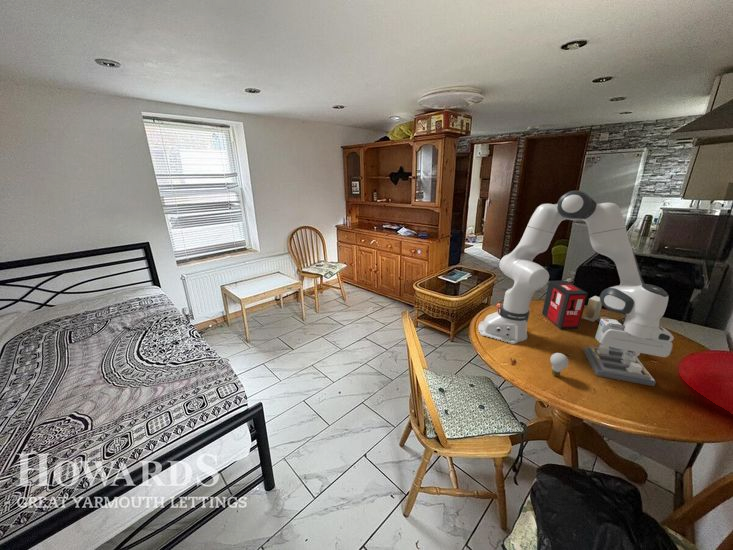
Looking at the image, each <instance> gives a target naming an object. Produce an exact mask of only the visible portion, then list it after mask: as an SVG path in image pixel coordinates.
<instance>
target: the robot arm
mask: <svg viewBox="0 0 733 550" xmlns="http://www.w3.org/2000/svg"><path fill="white" fill-rule="evenodd" d="M580 220H582V221H583V222H585V224H586V226H587V231H588V237H589V242H590V245H591V247H592V249H593V250H594V251H595V252H596V253H598V254H600V255H602V256H605V257H607V258H609V259H611V261H613V262H614V264H615V266H616V269H617V273H618V276H619V281H620V284H619V285H614V286H610V287H608V288H605V289H603V290H602V291H601V293H600V295H599V297H600V301H601V304H602V307H603V308H605V309H606V310H608V311H611V312H613V313H617V314H622V315H626V317H625V319H624V322H623V324H622V325H617V324H612V323H609V324H606V325H604V326H603V328H602V332H601V334H600V336H599V339H598V340H599V341H598V340H597V341H598V343H599V344H600V343H601V344H600V345H602V346H607V347H612V348H618V349H621V351H622V353H623V354H622V359H624V360H629V361H633V360H634V358H635V357H637V358H638V356H641V355H640V354H645V355H650V356H655V357H661V358H667V357H669V356H670V354H671V352H672V350H673V342H672V341H674V339H675V337H674V336H673V334H672V333H671V332H670V331H669V330H668V329H666V328H665V327H664V326H660V320H661V319H662V317H663V316H664V314H665V312H666V310H667V306H668V302H669V294H668V292H667V291H666V290H664V289H663V288H662V287H659V286H657V285H653V284H650V283H649V284H648V283H645V281H644V279H643V276H642V274H641V270H640V268H639V264H638V259H637V258H636V254H635V251H634V249H633V246H632V245H631V243H630V239H629V236H628V230H627V227H626V226H627V225H626V222H625V219H624V216H623V213H622V210H621V209H620V207H619V205H618V204H616V203H615V202H601V203H597V202H596V201H595V200H594V199H593V198H592V197H591V196H590V195H589V194H588V193H586V192H584V191H581V190H570V191H568V192H565V193H564V194H563V195H561V196H560V197H559V199H558V200H557V203H554V204H552V203H541V204H540V205H539V206H537V207H536V208H535V210H534V212H533V213H532V215H531V216H530V219H529V221H528V223H527V226H526V228H525V230H524V232H523V235H522V237H521V238H520V241H519V242H518V244H517V245H516V247H515V248H513V250H512V251H511V252H509V253H508V254H505V255H504V256H503V257H502V258H501V259H500V261H499V265H498V266H499V269H500V270H501V272H502V273H503V274H504V275H505V276H506V277H508V278H510V279H512V280H513V282H514V283H513V286H512V287H511V288H508V289H507V290H506V291H505V293H504V298H503V304H501V303H500V302H499V303H497V304H496V307H497V311H495V312H493V313H490V314H487V315H486V316H485V318H484V320H481V321H480V322H479V323H478V327H477V330H479V331H478V333H479V332H480V333H479V335H480V336H482V337H484V336H486V337H485V338H488V337H490V338H489V339H492V338H494V339H493V340H496V339H497V341H500V340H501V342H503V341H504V343H507V342H508V343H507V344H511V345H515V344H517V343H519V342H523V341H526V340H527V339H528V333H527V325H528V324H527V323H528V321H529V318H530V305H531V301H532V297H533V295H534V294H535V293H536V291H538V290H540V289H542V288H544V287H545V286H547V285H548V283H549V281H550V280H549V279H550V274H549V271H548V270H547V269H545V268H544V266H542V265H540V264H538V263H536V262H534V259H535V258H536V256H538V255H539V254H542V253H544V252H546V251H547V250H548V248H549V246H550V244H551V241H552V240H553V237H554V236H555V233H556V231H557V229H558V227H559V225H560V224H561V222H562V221H580ZM608 325H609V326H608ZM629 351H630V352H632V354H630V355H629V354H626V353H625V352H629Z"/></svg>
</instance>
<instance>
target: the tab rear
mask: <svg viewBox="0 0 733 550" xmlns="http://www.w3.org/2000/svg"><path fill="white" fill-rule="evenodd" d="M598 347H599V348H598V350H596V353H600V354H606V355H609V350H610V349H609V347H607V346H602V345H601V344H599V346H598Z"/></svg>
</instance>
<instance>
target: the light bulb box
mask: <svg viewBox="0 0 733 550" xmlns="http://www.w3.org/2000/svg"><path fill="white" fill-rule="evenodd" d="M609 323H612V324H617V325H623V324H622V323H620V322H619V321H618V320H617V319H613V318H611V319H609V318H600V320H599V324H598V327H597V329H596V333H595V337H594V338H595V340H596V341H598V342H599V340H598V339H599V336H600V334H601V332H602V328H603V326H604V325H606V324H609ZM608 326H609V325H608ZM599 345H601V343H600V342H599ZM609 349H613V350H619V351H621V349H618V348H612V347H609Z"/></svg>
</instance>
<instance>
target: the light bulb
mask: <svg viewBox="0 0 733 550" xmlns="http://www.w3.org/2000/svg"><path fill="white" fill-rule="evenodd" d="M549 360H550V364H551V370H552V371H551V374H552V375H553V376H555V377H559V376H560V375H561V372H562V371H563V370H564V369H566V368H567V367H568V365H569V359H568V357H567V356H566V355H565V354H563V353H561V352H555V353H552V354H551V356H550V358H549Z"/></svg>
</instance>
